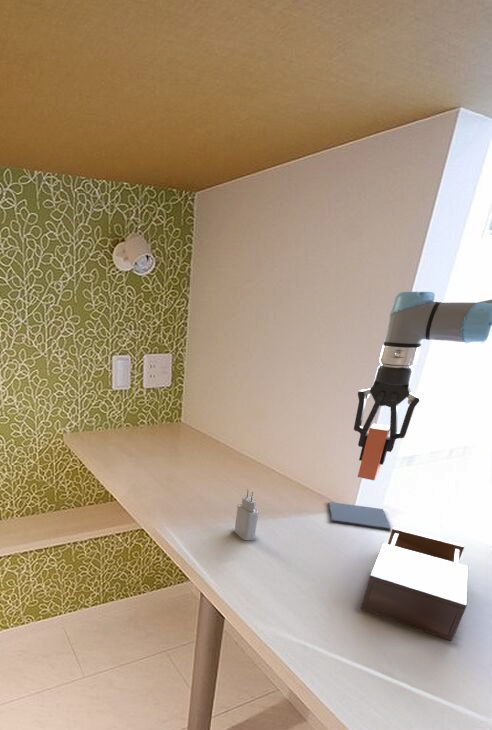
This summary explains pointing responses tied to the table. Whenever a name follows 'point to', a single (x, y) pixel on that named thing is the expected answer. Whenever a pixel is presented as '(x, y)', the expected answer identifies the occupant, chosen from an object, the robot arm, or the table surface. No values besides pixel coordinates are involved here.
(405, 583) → the cabinet
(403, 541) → the drawer
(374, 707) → the table surface
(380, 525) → the felt mat
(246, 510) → the power adapter
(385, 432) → the reddish brown rectangular block
